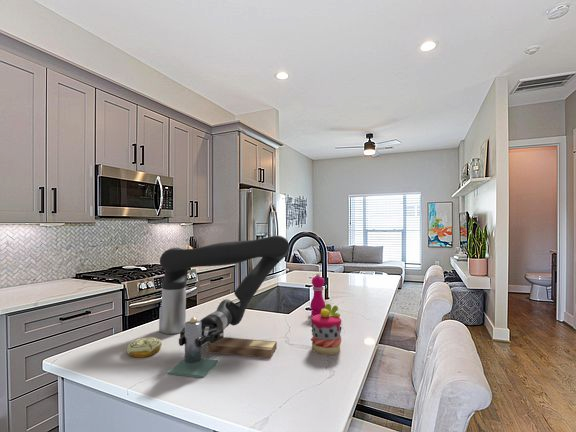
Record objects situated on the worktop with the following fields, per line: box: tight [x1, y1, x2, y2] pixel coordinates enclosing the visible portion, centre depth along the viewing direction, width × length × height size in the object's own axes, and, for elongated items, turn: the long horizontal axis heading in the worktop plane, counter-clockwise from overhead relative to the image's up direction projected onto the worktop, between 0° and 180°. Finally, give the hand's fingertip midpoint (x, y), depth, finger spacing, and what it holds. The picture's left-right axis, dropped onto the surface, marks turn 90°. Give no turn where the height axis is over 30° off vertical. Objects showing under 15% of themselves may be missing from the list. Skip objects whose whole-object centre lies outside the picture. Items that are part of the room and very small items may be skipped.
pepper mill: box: [309, 272, 326, 317], centre depth 158 cm, size 7×7×20 cm
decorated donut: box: [126, 336, 162, 359], centre depth 111 cm, size 10×11×4 cm
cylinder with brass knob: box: [184, 317, 202, 363], centre depth 98 cm, size 5×5×13 cm
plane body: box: [207, 336, 278, 359], centre depth 113 cm, size 22×8×3 cm, turn 79°
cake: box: [310, 303, 342, 356], centre depth 115 cm, size 10×11×15 cm
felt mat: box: [167, 357, 219, 379], centre depth 99 cm, size 11×11×1 cm
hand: (189, 343), depth 96 cm, fingers closed on cylinder with brass knob, 4 cm apart
